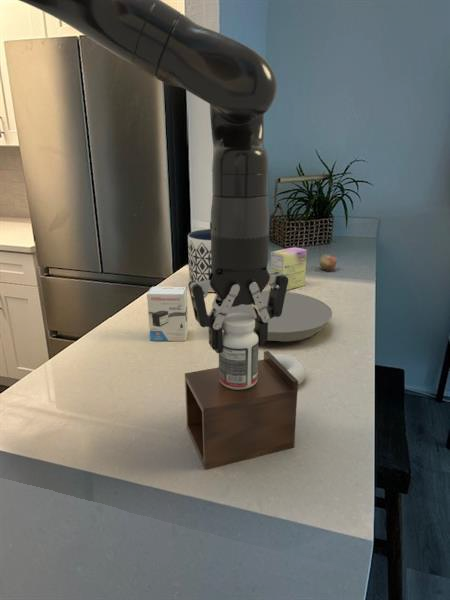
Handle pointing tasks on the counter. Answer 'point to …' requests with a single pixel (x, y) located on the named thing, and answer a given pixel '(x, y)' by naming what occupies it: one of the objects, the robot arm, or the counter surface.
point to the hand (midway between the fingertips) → (238, 347)
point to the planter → (199, 255)
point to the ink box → (167, 313)
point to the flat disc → (293, 317)
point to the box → (290, 265)
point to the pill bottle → (238, 352)
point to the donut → (292, 366)
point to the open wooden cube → (241, 414)
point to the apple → (328, 262)
